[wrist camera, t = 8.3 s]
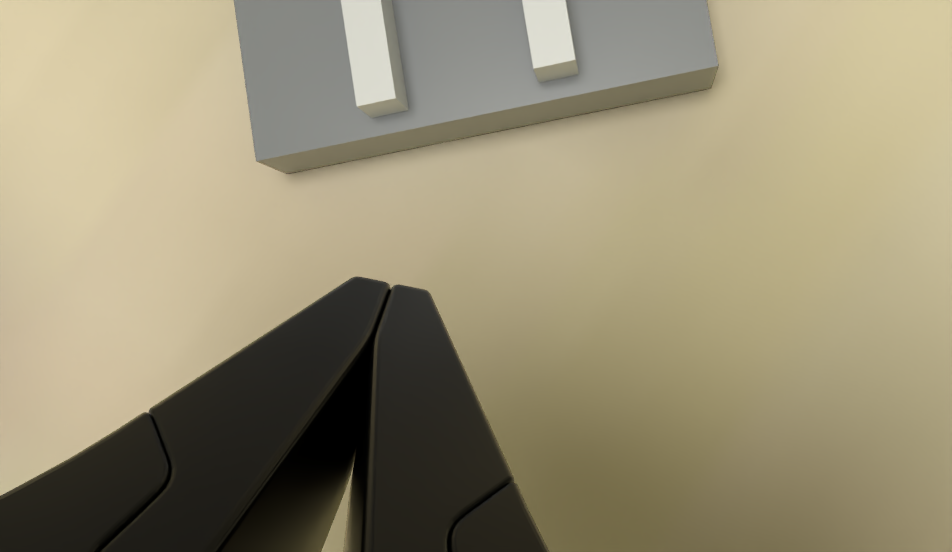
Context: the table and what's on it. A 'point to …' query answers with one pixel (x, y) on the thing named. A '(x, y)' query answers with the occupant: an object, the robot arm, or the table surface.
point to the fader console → (453, 68)
